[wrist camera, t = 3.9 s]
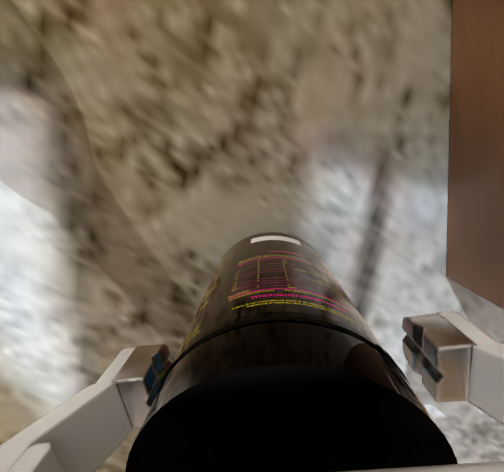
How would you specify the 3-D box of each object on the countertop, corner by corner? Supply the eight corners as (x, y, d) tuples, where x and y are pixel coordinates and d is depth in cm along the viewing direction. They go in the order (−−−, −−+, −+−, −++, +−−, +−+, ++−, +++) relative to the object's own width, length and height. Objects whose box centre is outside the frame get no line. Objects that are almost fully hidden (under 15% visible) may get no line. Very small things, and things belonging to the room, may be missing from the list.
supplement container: (221, 335, 16) (155, 604, 6) (208, 233, 15) (87, 371, 5) (328, 330, 16) (445, 608, 6) (327, 223, 14) (486, 354, 4)
